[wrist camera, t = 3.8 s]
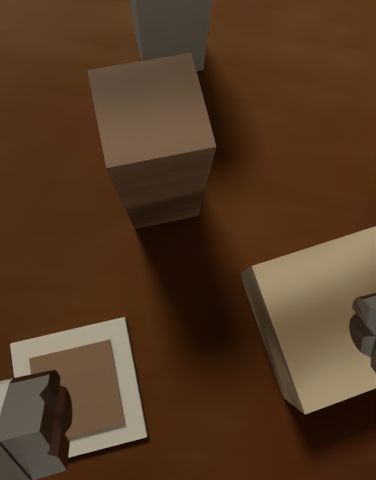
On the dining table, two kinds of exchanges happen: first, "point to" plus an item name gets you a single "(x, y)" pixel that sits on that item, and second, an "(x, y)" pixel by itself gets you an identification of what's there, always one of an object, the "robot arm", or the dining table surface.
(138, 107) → the walnut pillar
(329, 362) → the maple block
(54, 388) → the robot arm
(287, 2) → the dining table surface
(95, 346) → the swatch
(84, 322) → the dining table surface
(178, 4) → the grey pillar
